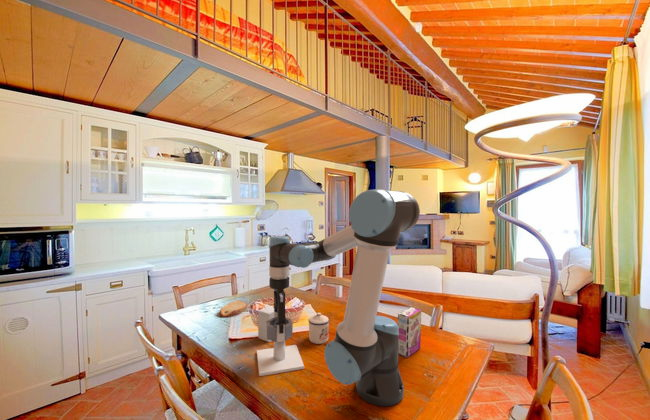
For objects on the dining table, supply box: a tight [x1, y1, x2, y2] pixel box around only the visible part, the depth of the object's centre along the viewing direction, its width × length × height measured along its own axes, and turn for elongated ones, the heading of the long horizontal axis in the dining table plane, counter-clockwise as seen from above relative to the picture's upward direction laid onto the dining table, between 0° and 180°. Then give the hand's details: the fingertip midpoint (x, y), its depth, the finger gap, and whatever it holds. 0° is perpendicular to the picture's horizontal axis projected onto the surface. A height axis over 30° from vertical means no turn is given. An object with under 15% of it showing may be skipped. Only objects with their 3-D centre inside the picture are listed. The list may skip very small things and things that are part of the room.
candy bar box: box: [397, 306, 422, 359], centre depth 113 cm, size 11×5×16 cm, turn 134°
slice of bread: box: [218, 300, 248, 319], centre depth 156 cm, size 18×18×4 cm
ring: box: [266, 316, 294, 343], centre depth 106 cm, size 10×10×5 cm
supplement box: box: [257, 305, 275, 343], centre depth 124 cm, size 7×7×13 cm
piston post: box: [256, 340, 305, 377], centre depth 106 cm, size 16×16×8 cm
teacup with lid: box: [308, 312, 330, 345], centre depth 124 cm, size 12×9×12 cm
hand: (279, 334), depth 106 cm, fingers closed on ring, 10 cm apart
